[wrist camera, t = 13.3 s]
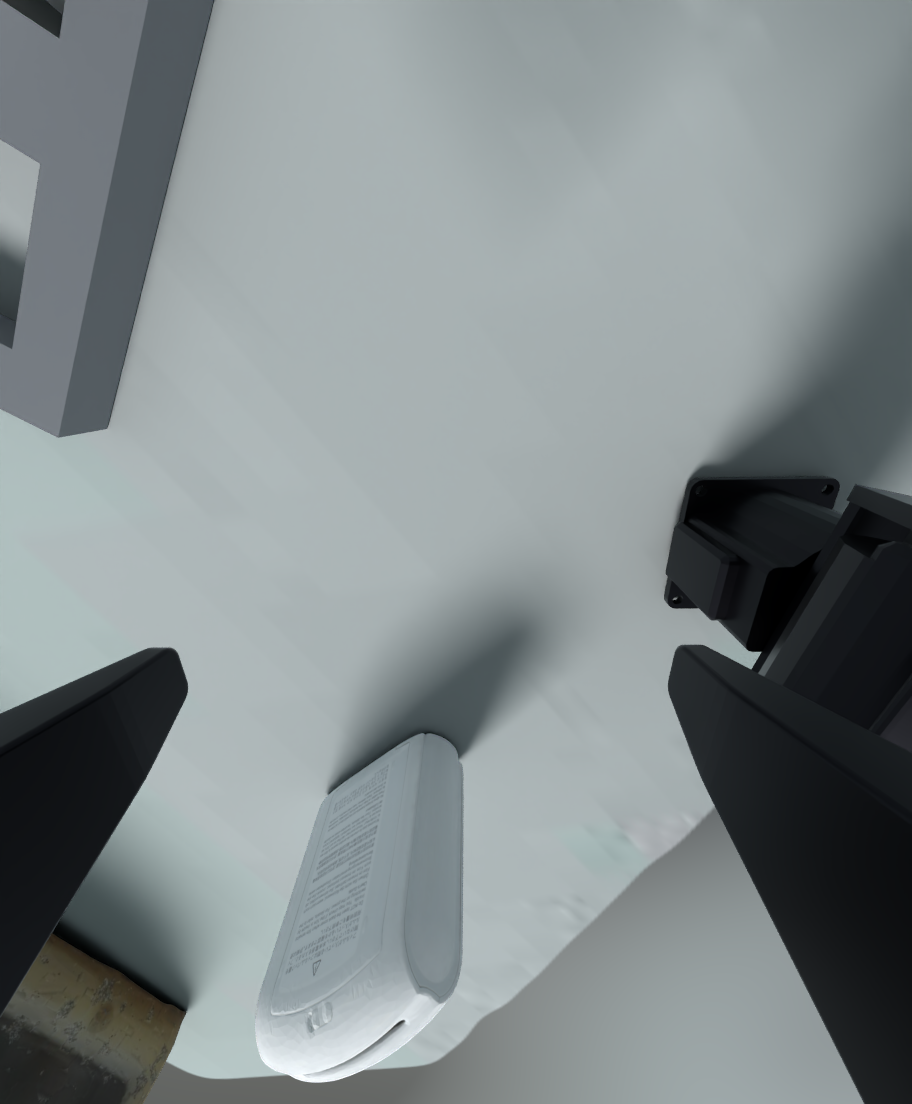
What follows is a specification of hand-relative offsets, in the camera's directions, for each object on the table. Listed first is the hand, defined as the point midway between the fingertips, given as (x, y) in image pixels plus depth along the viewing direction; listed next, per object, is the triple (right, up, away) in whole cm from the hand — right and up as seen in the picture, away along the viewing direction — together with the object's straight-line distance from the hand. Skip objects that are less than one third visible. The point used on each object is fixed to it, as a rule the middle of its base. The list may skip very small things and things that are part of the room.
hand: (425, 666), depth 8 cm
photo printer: (-4, -12, +20) cm, 23 cm away
